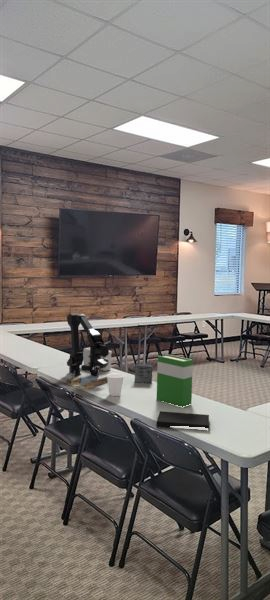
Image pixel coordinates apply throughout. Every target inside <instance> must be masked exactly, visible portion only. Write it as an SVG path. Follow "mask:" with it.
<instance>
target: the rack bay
mask: <svg viewBox="0 0 270 600" xmlns="http://www.w3.org/2000/svg"><path fill="white" fill-rule="evenodd" d="M99 374H100V372H98V373H97V376H96V377H98V380H95V381H91V382H88V383H86V385H85V386H81V385H78V383H79V384H81V377H84V376H87V375H88V374H86V375H84V376H78V377H76V378H74V379H72V380H71V383H69V386H72V387H76V388H81V389H84V388H85V390H88V388H89V389H92V388H93V387H94V386H95V387H98V386H100V384H101V385H103V384H108V382H107V376H104V377H102V378H100V377H99V376H100V375H99ZM89 375H91V373H89ZM91 376H92V375H91ZM75 384H76V385H75ZM97 385H98V386H97ZM91 387H92V388H91ZM95 387H94V388H95Z"/></svg>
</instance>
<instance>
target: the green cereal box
mask: <svg viewBox="0 0 270 600" xmlns="http://www.w3.org/2000/svg"><path fill="white" fill-rule="evenodd" d="M193 361H194V359H191V358H187V357H181V356H178V355H173V354H168V353H166V354H165V355H163V356H161V355H158V356H157V365H156V366H157V371H156V376H157V377H156V401H158V400H160V401H159V402H161V401H164V402H167V403H171V404H174V405H178V406H182V407H183V406H186V405H189V404H191V405H192V392H193V370H194V369H193V367H194V366H193V365H194V363H193ZM164 402H163V403H164ZM167 403H166V404H167ZM171 404H170V405H171ZM174 405H173V406H174Z"/></svg>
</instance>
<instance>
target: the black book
mask: <svg viewBox="0 0 270 600" xmlns="http://www.w3.org/2000/svg"><path fill="white" fill-rule="evenodd" d="M170 426H189V427H205V428H209V429H210V416H209V414H202V413H191V412H190V413H189V412H188V413H187V412H178V411H177V412H175V411H163V410H159V413H158V417H157V419H156V428H163V429H164V428H167V429H170V428H169V427H170Z"/></svg>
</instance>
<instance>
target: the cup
mask: <svg viewBox="0 0 270 600" xmlns="http://www.w3.org/2000/svg"><path fill="white" fill-rule="evenodd" d="M105 377H107V387H108V393H109V396H110V395H111V396H110V397H114V396H116V397H120V396H121V394H122V389H123V385H124V384H123V383H124V377H125V374H122V373H118V372H117V373H114V372H113V373H108V374H106V375H105ZM119 395H120V396H119Z"/></svg>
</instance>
